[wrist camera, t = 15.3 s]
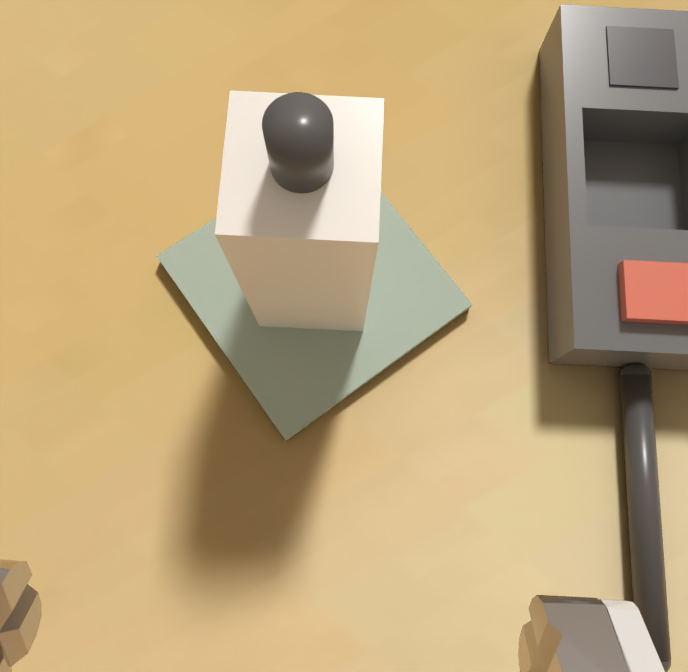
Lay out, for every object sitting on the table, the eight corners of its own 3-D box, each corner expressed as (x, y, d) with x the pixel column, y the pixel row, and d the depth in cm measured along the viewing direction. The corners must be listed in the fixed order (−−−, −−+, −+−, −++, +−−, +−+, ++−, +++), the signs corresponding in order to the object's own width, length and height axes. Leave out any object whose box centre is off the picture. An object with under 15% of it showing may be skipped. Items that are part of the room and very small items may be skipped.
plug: (362, 331, 26) (384, 210, 15) (259, 326, 26) (198, 201, 15) (367, 234, 28) (390, 51, 16) (267, 229, 28) (216, 42, 16)
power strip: (735, 674, 24) (801, 705, 21) (557, 665, 24) (594, 695, 21) (678, 57, 31) (721, 4, 27) (539, 50, 31) (564, -5, 27)
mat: (286, 441, 26) (285, 439, 25) (160, 260, 28) (156, 256, 27) (469, 308, 27) (472, 304, 27) (338, 145, 29) (338, 138, 29)
